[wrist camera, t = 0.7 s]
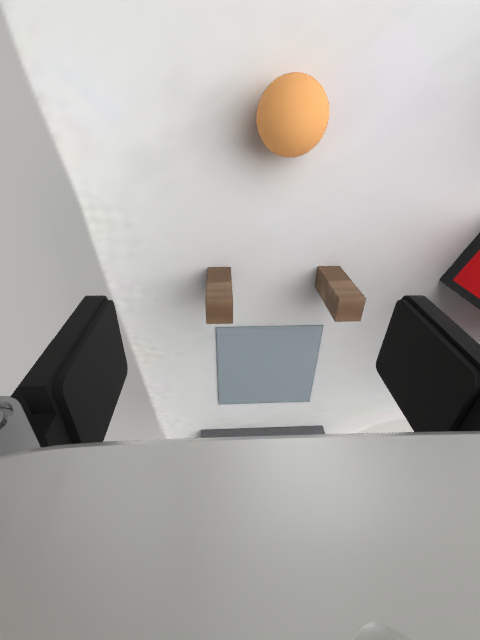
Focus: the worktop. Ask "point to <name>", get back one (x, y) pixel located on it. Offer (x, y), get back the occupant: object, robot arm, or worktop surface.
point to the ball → (292, 114)
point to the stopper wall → (263, 431)
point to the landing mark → (267, 363)
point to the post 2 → (339, 294)
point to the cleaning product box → (466, 273)
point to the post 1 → (219, 296)
